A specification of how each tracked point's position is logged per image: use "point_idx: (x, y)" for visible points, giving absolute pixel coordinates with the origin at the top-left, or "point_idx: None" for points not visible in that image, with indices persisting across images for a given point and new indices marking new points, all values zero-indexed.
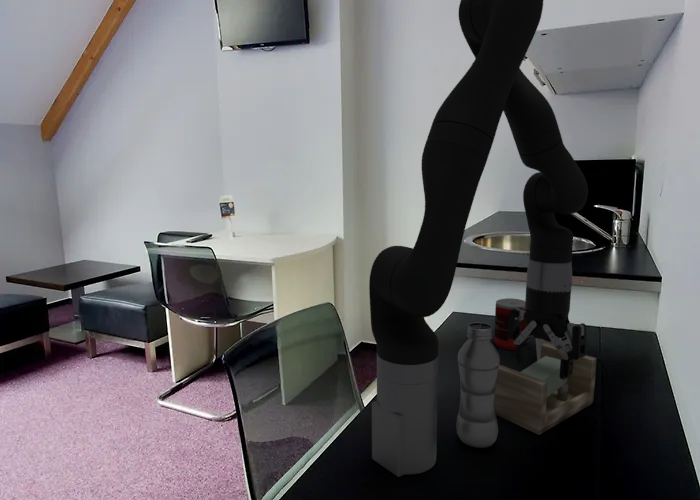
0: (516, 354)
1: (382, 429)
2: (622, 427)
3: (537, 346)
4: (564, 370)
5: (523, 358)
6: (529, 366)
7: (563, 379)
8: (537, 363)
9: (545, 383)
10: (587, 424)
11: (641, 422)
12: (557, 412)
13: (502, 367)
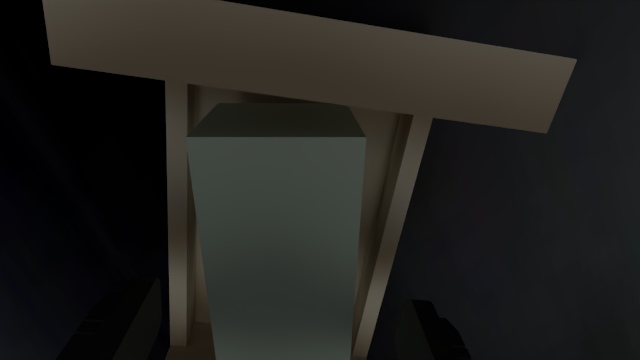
0: (461, 344)
1: None
2: (36, 254)
3: None
4: (110, 320)
5: (411, 338)
6: (352, 292)
7: (137, 277)
8: (334, 348)
9: (46, 28)
10: (116, 200)
11: (24, 314)
12: (167, 141)
13: (473, 91)
